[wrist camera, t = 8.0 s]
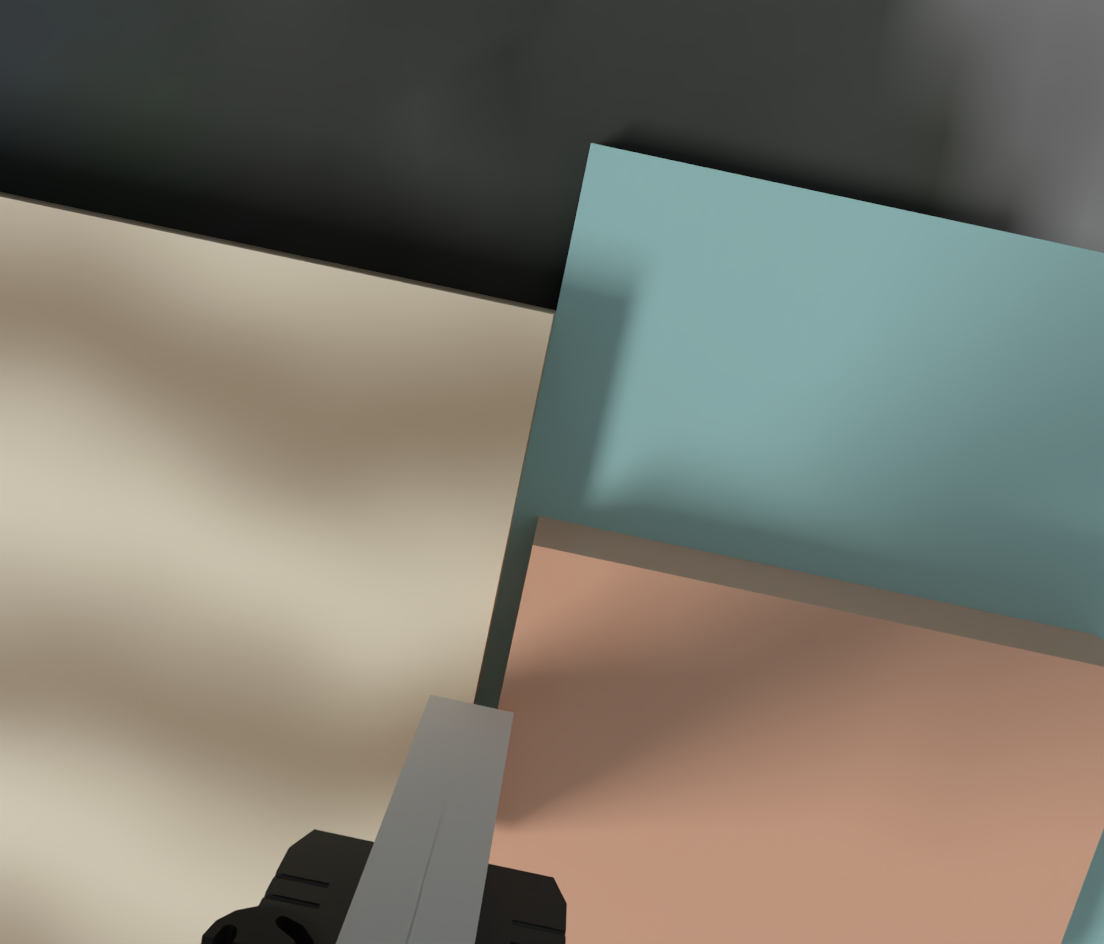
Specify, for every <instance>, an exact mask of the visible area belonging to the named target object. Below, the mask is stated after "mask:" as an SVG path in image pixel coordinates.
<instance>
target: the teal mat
mask: <svg viewBox="0 0 1104 944" xmlns="http://www.w3.org/2000/svg"><path fill="white" fill-rule="evenodd" d="M538 516H542V517H546V518H551V519H556V520H560V521H565V522H570V523H574V524H579V525H584V526H588V527H593V528H598V529H602V530H607V531H612V532H617V533H621V534H626V535H631V536H635V537H640V538H645V539H649V540H654V541H659V542H663V543H668V544H673V545H677V546H682V547H687V548H691V549H696V550H701V551H705V552H710V553H715V554H720V555H724V556H729V557H734V558H738V559H743V560H748V561H752V562H757V563H762V564H766V565H771V566H776V567H780V568H785V569H790V570H794V571H799V572H804V573H808V574H813V575H818V576H822V577H827V578H832V579H837V580H841V581H846V582H851V583H855V584H860V585H865V586H869V587H874V588H879V589H883V590H888V591H893V592H897V593H902V594H907V595H911V596H916V597H921V598H925V599H930V600H935V601H939V602H944V603H949V604H954V605H958V606H963V607H968V608H972V609H977V610H982V611H986V612H991V613H996V614H1000V615H1005V616H1010V617H1014V618H1019V619H1024V620H1028V621H1033V622H1038V623H1042V624H1047V625H1052V626H1056V627H1061V628H1066V629H1071V630H1075V631H1080V632H1085V633H1089V634H1094V635H1098V636H1099V637H1101V638H1102V639H1104V253H1102V252H1098V251H1093V250H1088V249H1084V248H1079V247H1074V246H1070V245H1065V244H1060V243H1056V242H1051V241H1046V240H1042V239H1037V238H1032V237H1028V236H1023V235H1018V234H1014V233H1009V232H1004V231H1000V230H995V229H990V228H986V227H981V226H976V225H972V224H967V223H962V222H958V221H953V220H948V219H944V218H939V217H934V216H930V215H925V214H920V213H916V212H911V211H906V210H902V209H897V208H892V207H888V206H883V205H878V204H874V203H869V202H864V201H860V200H855V199H850V198H846V197H841V196H836V195H832V194H827V193H822V192H818V191H813V190H808V189H804V188H799V187H794V186H790V185H785V184H780V183H776V182H771V181H766V180H762V179H757V178H752V177H748V176H743V175H738V174H734V173H729V172H724V171H720V170H715V169H710V168H706V167H701V166H696V165H692V164H687V163H682V162H678V161H673V160H668V159H664V158H659V157H654V156H650V155H645V154H640V153H636V152H631V151H626V150H622V149H617V148H612V147H608V146H603V145H598V144H594V143H591V146H590V151H589V155H588V160H587V165H586V170H585V175H584V180H583V184H582V189H581V194H580V199H579V204H578V209H577V213H576V218H575V223H574V228H573V233H572V238H571V242H570V247H569V252H568V257H567V262H566V267H565V272H564V276H563V281H562V286H561V291H560V296H559V301H558V305H557V310H556V315H555V320H554V325H553V330H552V334H551V339H550V344H549V349H548V354H547V359H546V363H545V368H544V373H543V378H542V383H541V388H540V393H539V397H538V402H537V407H536V412H535V417H534V422H533V426H532V431H531V436H530V441H529V446H528V451H527V455H526V460H525V465H524V470H523V475H522V480H521V484H520V489H519V494H518V499H517V504H516V509H515V514H514V518H513V523H512V528H511V533H510V538H509V543H508V547H507V552H506V557H505V562H504V567H503V572H502V576H501V581H500V586H499V591H498V596H497V601H496V605H495V610H494V615H493V620H492V625H491V630H490V635H489V639H488V644H487V649H486V654H485V659H484V664H483V668H482V673H481V678H480V683H479V688H478V693H477V697H476V702H475V704H476V705H481V706H485V707H490V708H495V709H497V707H498V703H499V698H500V693H501V689H502V684H503V679H504V675H505V670H506V665H507V661H508V656H509V652H510V647H511V642H512V638H513V633H514V628H515V624H516V619H517V614H518V610H519V605H520V600H521V596H522V591H523V586H524V582H525V577H526V572H527V568H528V563H529V558H530V554H531V549H532V544H533V540H534V535H535V530H536V526H537V521H538ZM1061 944H1104V829H1103V832H1102V835H1101V837H1100V840H1099V843H1098V845H1097V848H1096V851H1095V853H1094V856H1093V859H1092V861H1091V864H1090V867H1089V869H1088V872H1087V875H1086V878H1085V880H1084V883H1083V886H1082V888H1081V891H1080V894H1079V896H1078V899H1077V902H1076V904H1075V907H1074V910H1073V912H1072V915H1071V918H1070V920H1069V923H1068V926H1067V929H1066V931H1065V934H1064V937H1063V939H1062V942H1061Z"/></svg>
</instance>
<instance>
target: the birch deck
mask: <svg viewBox="0 0 1104 944" xmlns="http://www.w3.org/2000/svg"><path fill="white" fill-rule="evenodd" d="M555 315H556V310H553V309H548V308H543V307H539V306H534V305H529V304H525V303H520V302H515V301H511V300H506V299H501V298H496V297H492V296H487V295H482V294H478V293H473V292H468V291H464V290H459V289H454V288H450V287H445V286H440V285H435V284H431V283H426V282H421V281H417V280H412V279H407V278H403V277H398V276H393V275H388V274H384V273H379V272H374V271H370V270H365V269H360V268H356V267H351V266H346V265H342V264H337V263H332V262H327V261H323V260H318V259H313V258H309V257H304V256H299V255H295V254H290V253H285V252H280V251H276V250H271V249H266V248H262V247H257V246H252V245H248V244H243V243H238V242H233V241H229V240H224V239H219V238H215V237H210V236H205V235H201V234H196V233H191V232H187V231H182V230H177V229H172V228H168V227H163V226H158V225H154V224H149V223H144V222H140V221H135V220H130V219H125V218H121V217H116V216H111V215H107V214H102V213H97V212H93V211H88V210H83V209H79V208H74V207H69V206H64V205H60V204H55V203H50V202H46V201H41V200H36V199H32V198H27V197H22V196H17V195H13V194H8V193H3V192H0V944H201V940H202V935H203V934H204V933H205V932H206V931H207V930H208V929H209V927H210V926H211V925H212V924H213V923H214V922H215V921H216V920H218V919H220V918H222V917H224V916H226V915H228V914H230V913H232V912H233V911H235V910H240V909H245V908H250V907H255V906H259V904H260V902H261V900H262V898H264V896H265V892H266V890H267V888H268V887H269V885H270V883H271V881H272V879H273V877H275V875H276V871H277V869H278V868H279V866H280V864H281V862H282V860H283V858H284V856H285V854H286V852H287V850H288V848H289V847H290V846H292V845H293V844H295V843H296V842H297V841H299V840H300V839H301V838H303V837H304V836H306V835H307V834H308V833H310V832H311V831H312V830H314V829H316V830H321V831H325V832H330V833H335V834H339V835H344V836H349V837H353V838H358V839H363V840H368V841H372V842H375V839H376V836H377V834H378V831H379V828H380V826H381V823H382V820H383V818H384V815H385V813H386V810H387V807H388V805H389V802H390V799H391V797H392V794H393V791H394V789H395V786H396V784H397V781H398V778H399V776H400V773H401V770H402V768H403V765H404V762H405V760H406V757H407V755H408V752H409V749H410V747H411V744H412V741H413V739H414V736H415V733H416V731H417V728H418V726H419V723H420V720H421V718H422V715H423V712H424V710H425V707H426V704H427V702H428V699H429V697H430V695H434V696H438V697H443V698H448V699H452V700H457V701H462V702H467V703H471V704H475V702H476V697H477V693H478V688H479V683H480V678H481V673H482V668H483V664H484V659H485V654H486V649H487V644H488V639H489V635H490V630H491V625H492V620H493V615H494V610H495V605H496V601H497V596H498V591H499V586H500V581H501V576H502V572H503V567H504V562H505V557H506V552H507V547H508V543H509V538H510V533H511V528H512V523H513V518H514V514H515V509H516V504H517V499H518V494H519V489H520V484H521V480H522V475H523V470H524V465H525V460H526V455H527V451H528V446H529V441H530V436H531V431H532V426H533V422H534V417H535V412H536V407H537V402H538V397H539V393H540V388H541V383H542V378H543V373H544V368H545V363H546V359H547V354H548V349H549V344H550V339H551V334H552V330H553V325H554V320H555Z"/></svg>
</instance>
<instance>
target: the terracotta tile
mask: <svg viewBox="0 0 1104 944" xmlns="http://www.w3.org/2000/svg"><path fill="white" fill-rule="evenodd" d="M497 709H499V710H504V711H509V712H513V713H514V715H513V721H512V727H511V733H510V739H509V745H508V751H507V757H506V762H505V768H504V774H503V780H502V786H501V792H500V798H499V804H498V810H497V815H496V821H495V827H494V833H493V839H492V845H491V851H490V857H489V862H488V864H493V865H498V866H502V867H507V868H512V869H516V870H521V871H526V872H530V873H535V874H540V875H545V876H549V877H554V879H555V881H556V883H557V885H558V887H559V889H560V891H561V893H562V895H563V897H564V899H565V901H566V903H567V913H566V933H565V936H566V943H565V944H1061V942H1062V939H1063V937H1064V934H1065V931H1066V929H1067V926H1068V923H1069V920H1070V918H1071V915H1072V912H1073V910H1074V907H1075V904H1076V902H1077V899H1078V896H1079V894H1080V891H1081V888H1082V886H1083V883H1084V880H1085V878H1086V875H1087V872H1088V869H1089V867H1090V864H1091V861H1092V859H1093V856H1094V853H1095V851H1096V848H1097V845H1098V843H1099V840H1100V837H1101V835H1102V832H1103V829H1104V639H1102V638H1101V637H1099V636H1098V635H1094V634H1089V633H1085V632H1080V631H1075V630H1071V629H1066V628H1061V627H1056V626H1052V625H1047V624H1042V623H1038V622H1033V621H1028V620H1024V619H1019V618H1014V617H1010V616H1005V615H1000V614H996V613H991V612H986V611H982V610H977V609H972V608H968V607H963V606H958V605H954V604H949V603H944V602H939V601H935V600H930V599H925V598H921V597H916V596H911V595H907V594H902V593H897V592H893V591H888V590H883V589H879V588H874V587H869V586H865V585H860V584H855V583H851V582H846V581H841V580H837V579H832V578H827V577H822V576H818V575H813V574H808V573H804V572H799V571H794V570H790V569H785V568H780V567H776V566H771V565H766V564H762V563H757V562H752V561H748V560H743V559H738V558H734V557H729V556H724V555H720V554H715V553H710V552H705V551H701V550H696V549H691V548H687V547H682V546H677V545H673V544H668V543H663V542H659V541H654V540H649V539H645V538H640V537H635V536H631V535H626V534H621V533H617V532H612V531H607V530H602V529H598V528H593V527H588V526H584V525H579V524H574V523H570V522H565V521H560V520H556V519H551V518H546V517H542V516H538V521H537V526H536V530H535V535H534V540H533V544H532V549H531V554H530V558H529V563H528V568H527V572H526V577H525V582H524V586H523V591H522V596H521V600H520V605H519V610H518V614H517V619H516V624H515V628H514V633H513V638H512V642H511V647H510V652H509V656H508V661H507V665H506V670H505V675H504V679H503V684H502V689H501V693H500V698H499V703H498V707H497Z"/></svg>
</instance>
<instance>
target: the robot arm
mask: <svg viewBox="0 0 1104 944" xmlns="http://www.w3.org/2000/svg"><path fill="white" fill-rule="evenodd" d="M513 715H514V713H513V712H509V711H504V710H499V709H495V708H490V707H485V706H481V705H476V704H471V703H467V702H462V701H457V700H452V699H448V698H443V697H438V696H434V695H430V697H429V699H428V702H427V704H426V707H425V710H424V712H423V715H422V718H421V720H420V723H419V726H418V728H417V731H416V733H415V736H414V739H413V741H412V744H411V747H410V749H409V752H408V755H407V757H406V760H405V762H404V765H403V768H402V770H401V773H400V776H399V778H398V781H397V784H396V786H395V789H394V791H393V794H392V797H391V799H390V802H389V805H388V807H387V810H386V813H385V815H384V818H383V820H382V823H381V826H380V828H379V831H378V834H377V836H376V839H375V842H372V841H368V840H363V839H358V838H353V837H349V836H344V835H339V834H335V833H330V832H325V831H321V830H316V829H314V830H312V831H311V832H310V833H308V834H307V835H306V836H304V837H303V838H301V839H300V840H299V841H297V842H296V843H295V844H293V845H292V846H290V847H289V848H288V850H287V852H286V854H285V856H284V858H283V860H282V862H281V864H280V866H279V868H278V869H277V871H276V875H275V877H273V879H272V881H271V883H270V885H269V887H268V888H267V890H266V892H265V896H264V898H262V900H261V902H260V904H259V906H255V907H250V908H245V909H240V910H235V911H233V912H232V913H230V914H228V915H226V916H224V917H222V918H220V919H218V920H216V921H215V922H214V923H213V924H212V925H211V926H210V927H209V929H208V930H207V931H206V932H205V933H204V934H203V935H202V940H201V944H565V943H566V936H565V933H566V913H567V903H566V901H565V899H564V897H563V895H562V893H561V891H560V889H559V887H558V885H557V883H556V881H555V879H554V877H549V876H545V875H540V874H535V873H530V872H526V871H521V870H516V869H512V868H507V867H502V866H498V865H493V864H488V862H489V857H490V851H491V845H492V839H493V833H494V827H495V821H496V815H497V810H498V804H499V798H500V792H501V786H502V780H503V774H504V768H505V762H506V757H507V751H508V745H509V739H510V733H511V727H512V721H513Z"/></svg>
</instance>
